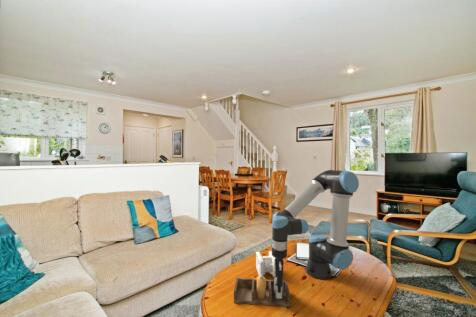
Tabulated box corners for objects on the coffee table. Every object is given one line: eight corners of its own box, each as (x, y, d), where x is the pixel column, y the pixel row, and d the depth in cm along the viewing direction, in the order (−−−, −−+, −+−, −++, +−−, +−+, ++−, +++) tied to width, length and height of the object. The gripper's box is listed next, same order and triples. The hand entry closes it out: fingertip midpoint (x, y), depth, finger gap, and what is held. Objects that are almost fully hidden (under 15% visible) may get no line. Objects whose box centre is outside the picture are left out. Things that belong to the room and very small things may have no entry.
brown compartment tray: (286, 291, 117) (286, 280, 117) (289, 306, 105) (290, 294, 105) (236, 288, 119) (236, 277, 119) (233, 302, 107) (234, 290, 107)
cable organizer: (277, 280, 128) (277, 260, 128) (259, 281, 127) (259, 260, 127) (271, 267, 142) (271, 249, 142) (255, 268, 142) (255, 250, 142)
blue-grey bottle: (273, 294, 112) (273, 274, 112) (282, 295, 112) (282, 275, 112) (274, 300, 107) (274, 279, 107) (283, 300, 107) (284, 279, 107)
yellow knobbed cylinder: (256, 293, 113) (256, 273, 113) (265, 293, 112) (265, 274, 112) (256, 299, 108) (256, 278, 108) (266, 299, 108) (266, 278, 108)
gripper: (270, 241, 119) (269, 284, 119) (273, 255, 101) (271, 305, 101) (284, 241, 118) (283, 285, 118) (289, 256, 101) (288, 307, 100)
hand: (278, 294), depth 110 cm, fingers closed on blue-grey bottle, 5 cm apart
